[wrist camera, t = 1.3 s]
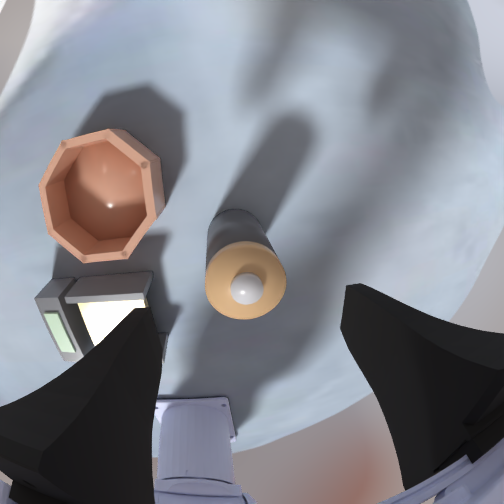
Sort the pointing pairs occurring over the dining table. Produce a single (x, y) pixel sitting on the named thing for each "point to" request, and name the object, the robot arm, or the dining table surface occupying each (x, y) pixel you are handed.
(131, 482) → the robot arm
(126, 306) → the plunger
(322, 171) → the dining table surface
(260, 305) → the cell
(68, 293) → the battery checker
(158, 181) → the cup
